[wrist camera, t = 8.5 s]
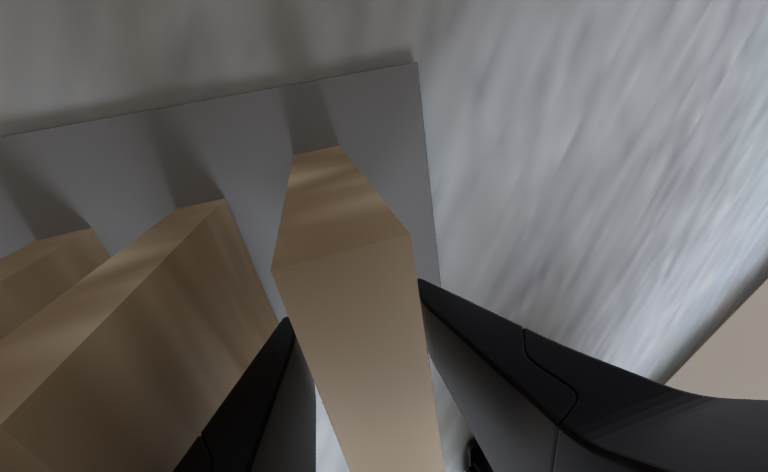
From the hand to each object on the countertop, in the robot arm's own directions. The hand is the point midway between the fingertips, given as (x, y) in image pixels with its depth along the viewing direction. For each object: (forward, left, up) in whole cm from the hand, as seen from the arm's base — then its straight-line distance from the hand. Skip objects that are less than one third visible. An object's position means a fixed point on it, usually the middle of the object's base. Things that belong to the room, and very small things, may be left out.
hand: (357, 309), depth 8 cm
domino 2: (0, -1, -4) cm, 4 cm away
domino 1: (+4, 0, -4) cm, 6 cm away
